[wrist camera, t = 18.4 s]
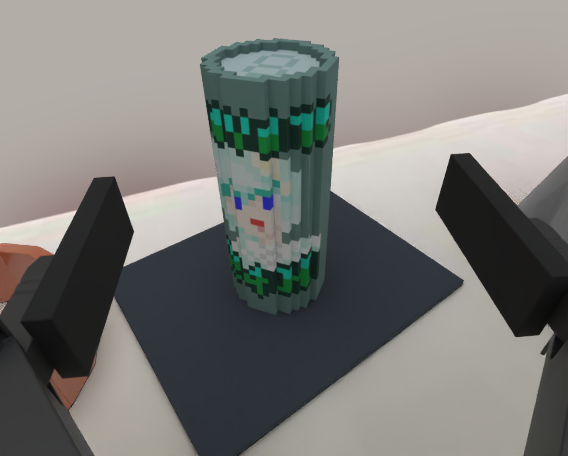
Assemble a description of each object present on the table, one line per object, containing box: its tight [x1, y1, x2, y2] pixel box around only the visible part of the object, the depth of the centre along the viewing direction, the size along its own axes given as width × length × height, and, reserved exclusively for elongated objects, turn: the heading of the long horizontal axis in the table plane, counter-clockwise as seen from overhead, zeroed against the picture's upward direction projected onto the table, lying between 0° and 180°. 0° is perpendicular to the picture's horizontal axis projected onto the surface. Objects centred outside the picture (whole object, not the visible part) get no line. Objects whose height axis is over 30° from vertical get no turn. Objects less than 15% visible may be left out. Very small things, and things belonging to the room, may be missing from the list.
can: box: [200, 38, 339, 315], centre depth 23 cm, size 6×6×15 cm
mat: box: [114, 191, 464, 456], centre depth 28 cm, size 20×16×1 cm
